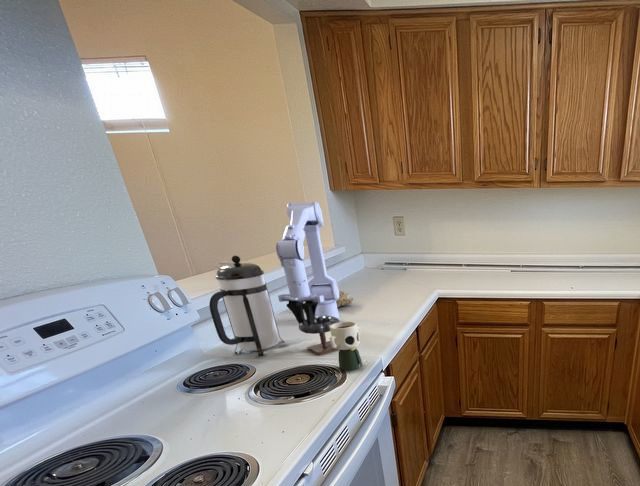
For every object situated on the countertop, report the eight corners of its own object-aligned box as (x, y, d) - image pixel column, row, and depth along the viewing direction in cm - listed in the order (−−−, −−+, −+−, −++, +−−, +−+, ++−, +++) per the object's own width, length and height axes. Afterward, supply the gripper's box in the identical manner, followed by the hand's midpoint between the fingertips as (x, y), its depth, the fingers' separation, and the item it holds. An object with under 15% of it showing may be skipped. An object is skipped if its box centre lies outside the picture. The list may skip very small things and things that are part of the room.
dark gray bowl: (293, 329, 132) (291, 321, 131) (328, 321, 140) (327, 312, 139) (311, 337, 125) (309, 328, 123) (347, 327, 133) (346, 319, 132)
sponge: (339, 305, 193) (299, 306, 176) (341, 289, 190) (301, 288, 173) (358, 314, 187) (318, 316, 170) (360, 297, 184) (320, 297, 168)
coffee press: (234, 346, 139) (206, 255, 127) (287, 339, 145) (264, 250, 133) (226, 364, 125) (193, 262, 113) (285, 355, 130) (259, 257, 118)
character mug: (348, 377, 114) (339, 332, 108) (328, 373, 116) (318, 329, 111) (373, 363, 123) (366, 320, 117) (354, 360, 125) (346, 318, 120)
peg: (307, 350, 135) (303, 332, 132) (330, 343, 140) (327, 326, 138) (319, 355, 130) (315, 337, 127) (342, 348, 135) (339, 330, 133)
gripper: (267, 283, 125) (278, 326, 130) (310, 284, 122) (319, 328, 128) (283, 278, 131) (293, 320, 137) (324, 279, 128) (332, 321, 134)
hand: (306, 323), depth 133 cm, fingers closed on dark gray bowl, 3 cm apart
